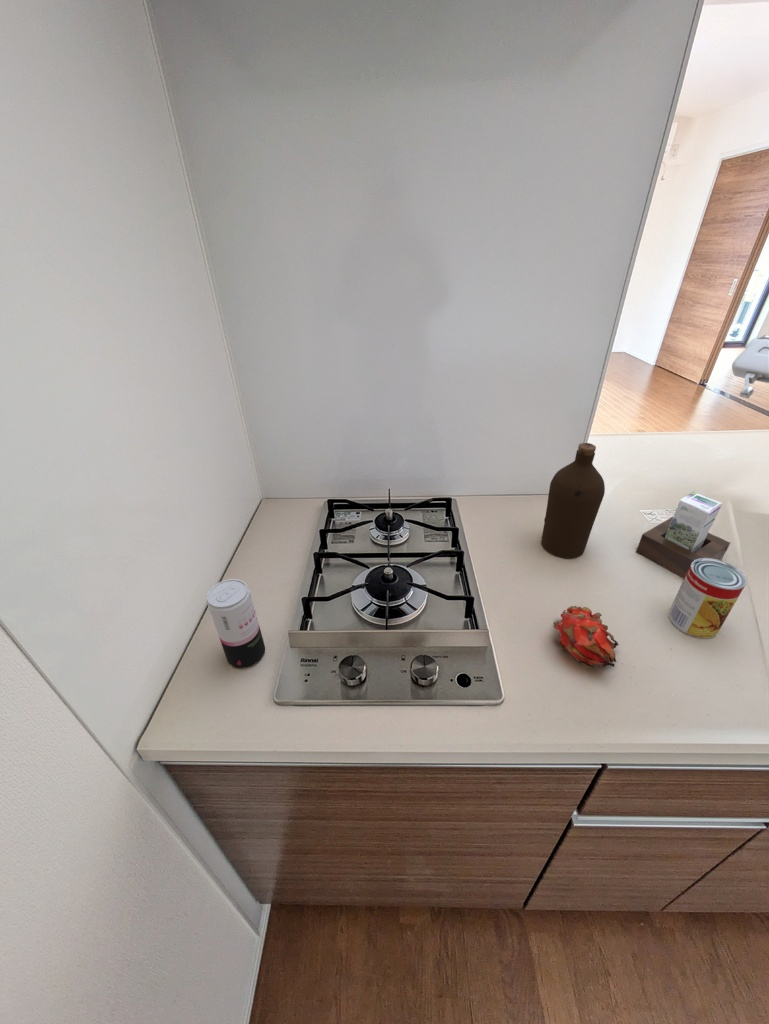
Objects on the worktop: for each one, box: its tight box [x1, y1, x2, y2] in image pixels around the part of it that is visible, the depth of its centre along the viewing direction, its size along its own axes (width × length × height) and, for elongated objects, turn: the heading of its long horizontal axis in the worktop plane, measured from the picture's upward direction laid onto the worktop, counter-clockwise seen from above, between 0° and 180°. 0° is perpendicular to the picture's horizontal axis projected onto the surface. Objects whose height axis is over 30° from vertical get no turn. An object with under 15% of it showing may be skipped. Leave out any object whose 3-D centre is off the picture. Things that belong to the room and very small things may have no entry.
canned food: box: [667, 558, 748, 639], centre depth 77 cm, size 8×8×12 cm
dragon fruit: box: [553, 605, 620, 669], centre depth 73 cm, size 8×8×12 cm
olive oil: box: [540, 442, 606, 559], centre depth 93 cm, size 11×11×25 cm
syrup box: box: [665, 491, 723, 553], centre depth 91 cm, size 6×6×14 cm
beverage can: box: [206, 578, 266, 669], centre depth 73 cm, size 7×6×15 cm
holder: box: [635, 516, 731, 579], centre depth 94 cm, size 12×12×5 cm
